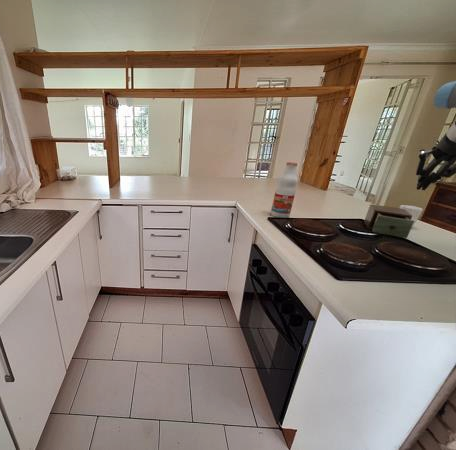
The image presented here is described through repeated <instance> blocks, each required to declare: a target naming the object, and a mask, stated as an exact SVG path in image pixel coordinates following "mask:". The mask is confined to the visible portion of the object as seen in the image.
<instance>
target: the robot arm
mask: <svg viewBox="0 0 456 450" xmlns="http://www.w3.org/2000/svg"><path fill="white" fill-rule="evenodd" d="M433 105H434V107H435V108H437V109H440V110H451V109H456V80H455V81H454V80H453V81H451V82H447V83H445V84H443V85H441V87H439V88H438V89H437V90H436V92H435V95H434V96H433ZM430 155H432V157H433V158H432V159H431V160H430V162H429V163H428V164H427V165H426V167H425V164H426V161H427V159H428V158H429V157H430ZM418 158H419V160H418V164H417V166H416V171H415V175H416V176H418V177H417V183H416V190H418V191H420V190H421V191H426V190H427V189H428V187H430V185H432V184H436V183H437V182H438V181H441V180H442V178H445V179H449V178H451V177H453V176H454V175H456V120H454V122H453V123H452V124H451V126H450V127H449V128H448V130H447V131H446V132H445V134H444V135H443V136H442V137H441V139H440V140H439V141H438V143H437V144H436V145H435V146H433V147H432V148H431V149H423V148H422V149H420V150H419V152H418ZM439 165H440V166H439ZM438 166H439V168H438V169H437V170H436V172H435V171H434V170H435V169H436V168H437V167H438ZM424 167H425V168H424Z"/></svg>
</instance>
